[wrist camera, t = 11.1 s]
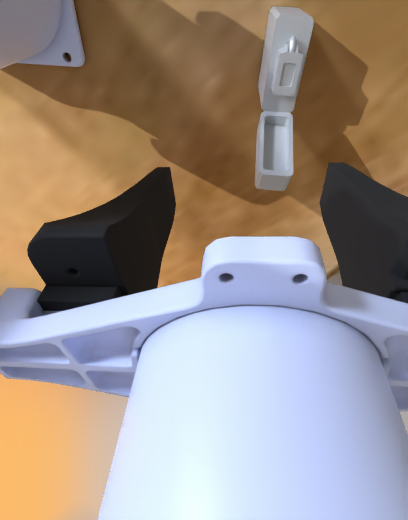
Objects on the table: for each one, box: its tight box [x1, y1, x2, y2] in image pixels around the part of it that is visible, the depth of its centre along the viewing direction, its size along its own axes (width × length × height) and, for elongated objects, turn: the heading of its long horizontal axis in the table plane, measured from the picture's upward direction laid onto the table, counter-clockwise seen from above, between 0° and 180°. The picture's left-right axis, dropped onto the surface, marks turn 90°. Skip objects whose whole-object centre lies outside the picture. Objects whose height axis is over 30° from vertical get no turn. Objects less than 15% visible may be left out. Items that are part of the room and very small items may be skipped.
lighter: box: [255, 6, 314, 191], centre depth 16 cm, size 7×2×8 cm, turn 178°
